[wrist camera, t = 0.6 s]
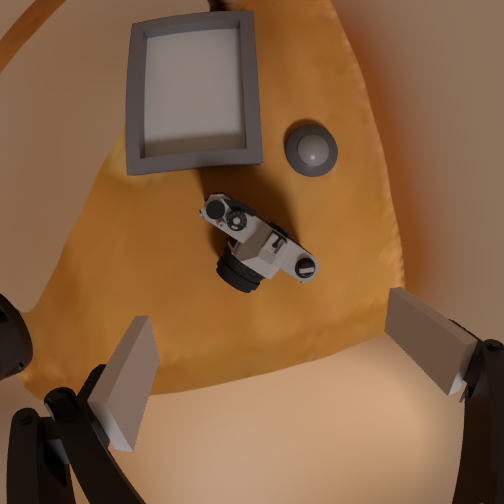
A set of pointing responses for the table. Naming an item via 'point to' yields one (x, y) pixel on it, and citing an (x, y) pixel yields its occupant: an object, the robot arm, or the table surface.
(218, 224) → the camera
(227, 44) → the case tray
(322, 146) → the lens cap
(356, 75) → the table surface
